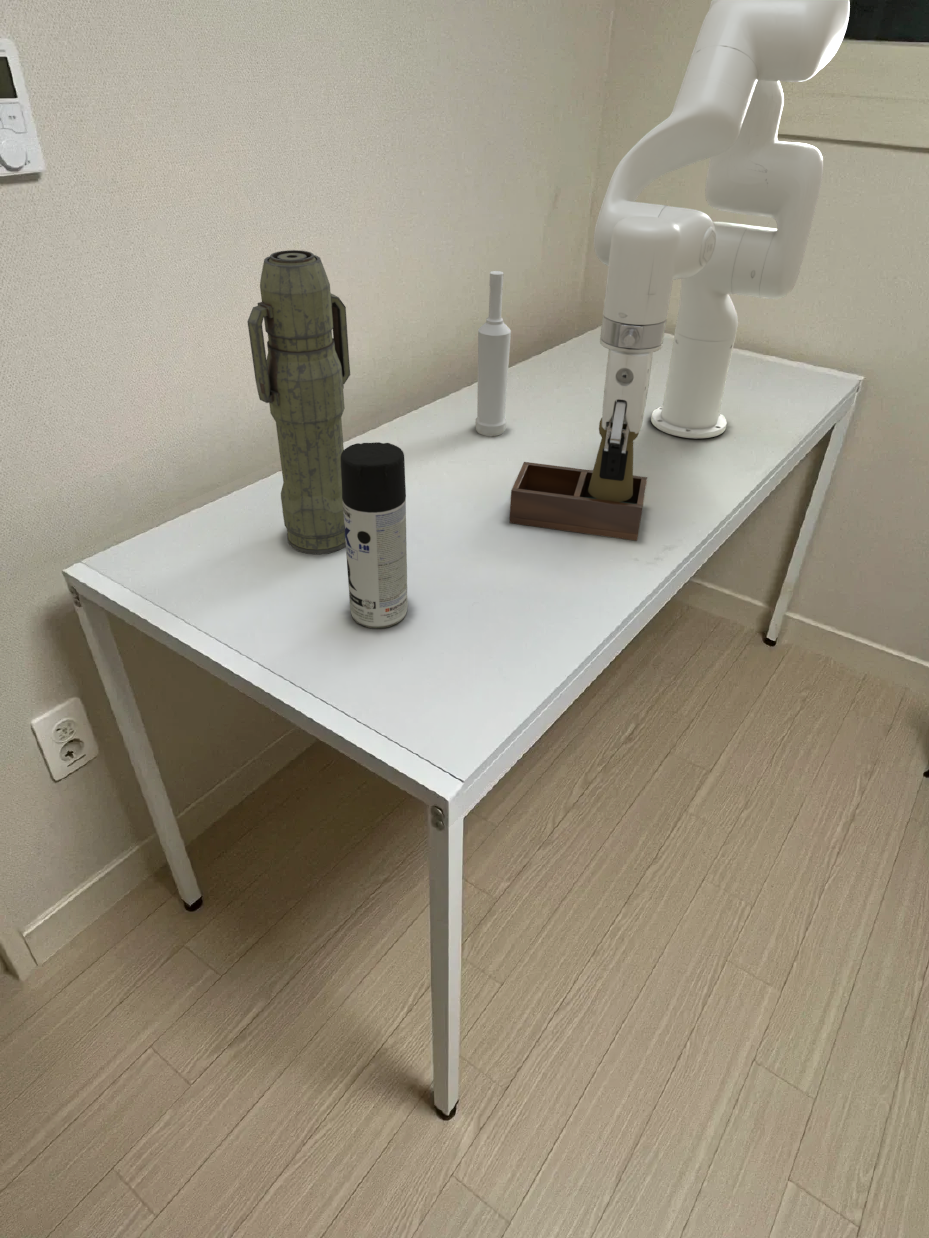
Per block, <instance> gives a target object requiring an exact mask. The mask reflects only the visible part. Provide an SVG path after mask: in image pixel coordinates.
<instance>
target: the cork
mask: <svg viewBox="0 0 929 1238" xmlns="http://www.w3.org/2000/svg"><path fill="white" fill-rule="evenodd" d="M611 426H613V423H611ZM626 427H627V424H623V428H626ZM606 433H607V428H606V430H605V429H603V427H602V417H601V418H600V420H599V423H598V434H599V435H600V437H601V439H600V443H599V447H598V450H597V454H596V458H595V462H594V466H593V469H592V470H593V473H592V477H591V481H590V484H589V488H588V492H589V493H590V495H592V496H593V497H594V498H596V499H600V500H607V501H615V502H622V501H626V500H628V499H630V498H631V497H632V496H633V476H634V441H635V440H636V439H637V438H638V436H639V434H640V432H639V433H637V434H635V432H630V431H629V435H628V442H627V448H626V451H628V456H627V462H626V469H625V476H624V480H623V481H618V480H610V479H602V478H600V476H599V475H600V467H601V459H602V451H603V448H605V440H606ZM621 438H623V439H624V434H621Z"/></svg>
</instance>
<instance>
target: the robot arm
mask: <svg viewBox="0 0 929 1238" xmlns="http://www.w3.org/2000/svg"><path fill="white" fill-rule="evenodd" d="M850 6H851V5H850V0H711V1H710V4H709V7H708V11H707V13H706V14H705V16H704V18H703V20H702V23H701V26H700V29H699V31H698V35H697V38H696V40H695V44H694V47H693V50H692V53H691V54H690V58H689V60H688V64H687V67H686V70H685V73H684V76H683V79H682V82H681V85H680V87H679V88H680V89H679V91H678V93H677V95H676V99H675V102H674V105H673V108H672V111H671V113H670V115H669V116H668V117H667V118H666V119H664V120H663V121H661V122H660V123H659V124H657V125H656V126H654V127H653V128H652V129H651V130H649V131H648V132H647V133H645V134H644V136H642V137H641V138H639V140H638V141H637V142H636V143H635V144H634V145H633V146H632V147H631V148H630V149H629V150H628V151H627V153H626V154H624V156H623V157H622V159H621V160H620V161H619V162H618V164H617V165H616V167H615V169H614V171H613V173H612V176H611V178H610V180H609V183H608V185H607V189H606V191H605V194H604V196H603V197H604V198H603V199H602V203H601V206H600V209H599V212H598V215H597V218H596V222H595V226H594V230H593V231H594V232H593V250H594V254H595V256H596V258H597V259H598V261H599V262H600V263H602V264H603V265H604V266H606V267H607V276H606V284H605V294H604V300H603V301H604V302H603V309H602V319H601V326H600V327H601V328H600V335H599V336H600V337H599V344H600V345H601V346H602V347H604V348H605V349H607V351H608V352H607V361H606V369H605V377H604V386H603V399H602V410H601V411H602V412H601V413H602V414H601V418H602V427H603V429H605V430H606V428H607V433H606V440H605V448H603V451H602V459H601V467H600V475H599V476H600V478H602V479H610V480H618V481H623V480H624V476H625V469H626V462H627V456H628V451H626V448H627V442H628V435H629V431H630V432H635V434H637V433H639V434H640V432H641V430H642V428H643V427H642V426H643V421H644V416H645V411H646V405H647V399H648V392H649V387H650V379H651V372H652V366H653V365H652V364H653V356H654V355H653V354H654V353H656V352H658V351H661V349H662V348H663V345H664V339H665V332H666V326H667V320H668V313H669V308H670V301H671V296H672V288H673V282H674V281H675V280H680V290H679V301H678V309H677V315H676V322H675V323H676V324H675V330H674V334H673V341H672V347H671V352H670V357H669V365H668V370H667V375H666V382H665V388H664V394H663V401H662V405H661V406H659V407H657V408H655V409H653V411H652V412H651V418H650V421H651V423H652V425H653V426H654V427H655V428H656V429H657V430H659V431H661V432H663V433H666V434H668V435H672V436H674V437H678V438H679V437H680V438H686V439H709V438H713V437H714V438H715V437H717V436H720V435H721V434H723V433H724V432H725V431H726V430H727V427H728V426H727V425H728V420H727V419H726V417H725V416H724V415H723V414H721V408H722V404H723V403H722V402H723V399H724V394H725V389H726V383H727V380H728V375H729V370H730V366H731V361H732V355H733V351H734V347H735V341H736V337H737V332H738V327H739V317H738V313H737V309H736V307H735V305H734V302H733V300H732V297H731V296H730V295H737V296H744V297H752V298H756V299H757V298H758V299H765V300H766V299H767V300H780V299H783V298H785V297H787V296H789V294H791V292H792V291H793V289H794V288H795V285H796V284H797V281H798V278H799V276H800V272H801V269H802V265H803V262H804V261H803V260H804V257H805V254H806V248H807V244H808V242H809V237H810V232H811V230H812V229H811V228H812V226H813V221H814V218H815V217H814V216H815V213H816V209H817V205H818V201H819V198H820V192H821V188H822V183H823V178H824V177H823V176H824V157H823V155H822V152H821V151H820V150H819V148H817V147H816V146H815V145H811V144H809V143H804V142H791V141H780V140H778V131H779V125H780V122H781V118H782V117H781V116H782V113H783V108H784V103H785V96H784V92H783V87H782V84H781V82H787V83H802V82H806V81H808V80H810V79H812V78H813V77H814V76H816V74H817V73H819V71H821V70H823V68H825V66H826V65H827V64H828V63H830V61H831V60H832V59H833V58H834V56H835V55H836V54H837V52H838V50H839V48H840V46H841V44H842V42H843V40H844V37H845V34H846V31H847V28H848V23H849V19H850V18H849V17H850V8H851V7H850ZM708 159H709V161H708V166H707V172H706V178H705V188H704V197H705V201H706V203H707V204H708V206H709V207H711V208H712V209H714V210H717V211H721V212H724V213H732V214H740V215H747V216H749V215H750V216H755V217H756V216H757V217H765V218H772V219H773V220H775V222H776V228H775V227H765V226H759V225H751V224H743V223H735V222H727V221H713V220H712V218H711V217H710V216H709V215H708V214H707V213H705V212H703V211H701V210H698V209H695V208H694V209H693V208H687V207H679V206H672V205H671V206H670V205H667V204H657V203H649V202H648V203H647V202H641V201H637V200H638V198H639V196H640V195H641V194H642V192H644V190H645V189H646V188H647V187H648V186H650V185H651V184H652V183H653V182H655V181H656V180H658V179H660V178H661V177H664V176H665V175H667V174H669V173H672V172H676V171H677V170H680V169H683V168H685V167H688V166H690V165H691V166H692V165H694V164H697V163H699V162H702V161H704V160H708ZM611 423H613V426H611ZM623 424H627V427H626V428H623ZM621 434H624V439H623V438H621Z"/></svg>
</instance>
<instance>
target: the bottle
mask: <svg viewBox="0 0 929 1238" xmlns="http://www.w3.org/2000/svg"><path fill="white" fill-rule="evenodd" d="M503 287H504V272H503V271H500V270H493V271H492V270H491V271H489V294H488V295H489V296H488V297H489V299H488V302H489V303H488V317H486V319H485V322H484V323H483V324H482V325H480V326H479V327H478V329H477V396H476V397H477V398H476V399H477V403H476V407H477V408H476V410H477V412H476V413H477V414H476V415H477V416H476V418H475V431H476V432H477V433H478V434H480V435H482V436H487V437H497V436H501V435H503V434H504V433H505V431H506V429H507V418H506V406H507V394H508V393H507V391H508V390H507V389H508V379H509V378H508V377H509V366H510V365H509V363H510V352H511V351H510V350H511V349H510V348H511V337H512V336H511V334H512V329H510V327H509V326H507V324H506V323H505V322H504V318H503V317H502V311H503V310H502V309H503V308H502V307H503Z"/></svg>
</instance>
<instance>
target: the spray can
mask: <svg viewBox="0 0 929 1238" xmlns="http://www.w3.org/2000/svg"><path fill="white" fill-rule="evenodd" d="M341 479H342V500H343V514H344V528H345V542H346V547H345V553H346V555H345V556H346V568H347V583H348V597H349V598H348V599H349V608H350V614H351V618H352V619H353V620H354V621H355V622H356V623H357V624H359V625H361V626H363V627H364V628H369V629H386V628H390V627H393V626H395V625H397V624H399V623H400V622H402V621H403V620H404V618H405V617H406V616H407V611H408V607H409V605H408V558H407V557H408V552H407V545H408V544H407V491H406V489H407V486H406V465H405V453H404V451H403V450H402V448H401V447H399V446H397V445H395V444H393V443H390V442H380V441H378V442H376V441H375V442H362V443H354V444H351V445H348V446H347V447H345V448H344V450H343V452H342V454H341Z"/></svg>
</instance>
